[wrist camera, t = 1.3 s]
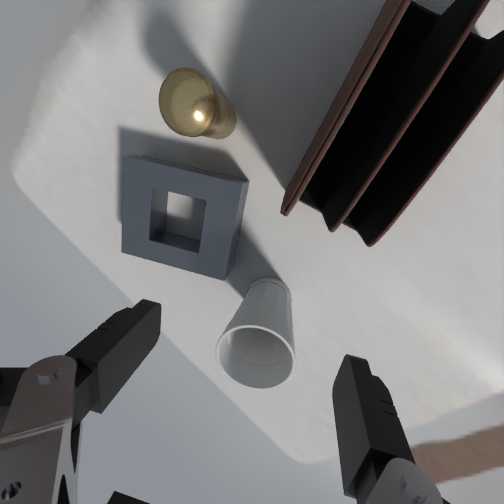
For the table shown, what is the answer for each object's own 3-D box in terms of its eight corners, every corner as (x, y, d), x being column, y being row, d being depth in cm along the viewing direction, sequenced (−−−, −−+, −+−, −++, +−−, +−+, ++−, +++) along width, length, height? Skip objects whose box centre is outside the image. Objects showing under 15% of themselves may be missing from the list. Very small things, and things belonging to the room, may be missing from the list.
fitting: (200, 89, 29) (159, 61, 20) (243, 98, 28) (218, 73, 20) (194, 137, 31) (155, 129, 22) (234, 146, 30) (209, 141, 22)
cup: (233, 280, 36) (202, 334, 25) (287, 265, 34) (279, 317, 23) (253, 326, 38) (233, 395, 27) (305, 315, 36) (306, 385, 25)
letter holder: (284, 192, 31) (271, 217, 18) (388, -4, 24) (495, -205, 10) (357, 230, 31) (397, 283, 18) (484, 47, 24) (711, -91, 10)
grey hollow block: (143, 155, 33) (123, 155, 29) (249, 181, 31) (242, 184, 28) (139, 242, 37) (121, 252, 33) (232, 268, 36) (224, 280, 32)
